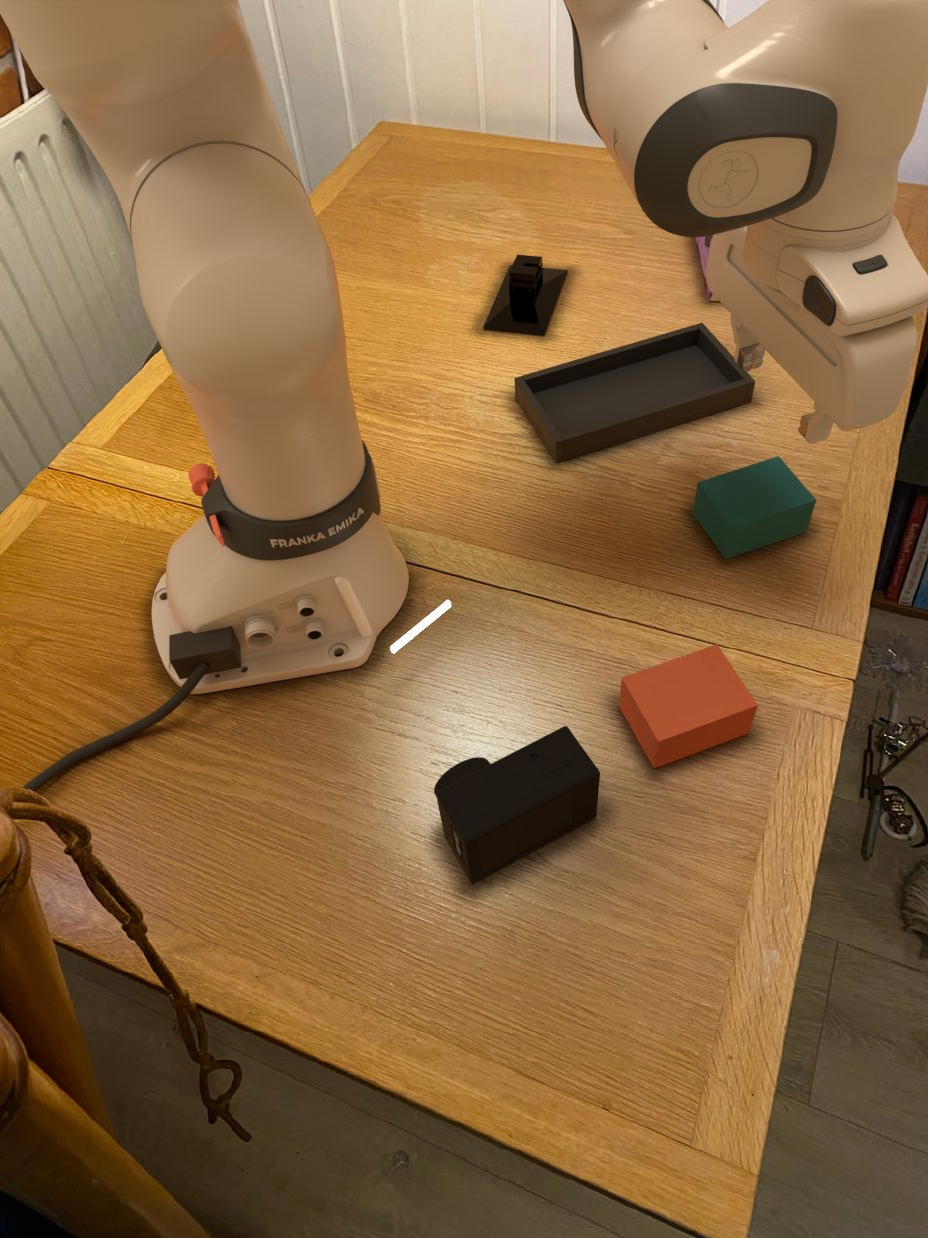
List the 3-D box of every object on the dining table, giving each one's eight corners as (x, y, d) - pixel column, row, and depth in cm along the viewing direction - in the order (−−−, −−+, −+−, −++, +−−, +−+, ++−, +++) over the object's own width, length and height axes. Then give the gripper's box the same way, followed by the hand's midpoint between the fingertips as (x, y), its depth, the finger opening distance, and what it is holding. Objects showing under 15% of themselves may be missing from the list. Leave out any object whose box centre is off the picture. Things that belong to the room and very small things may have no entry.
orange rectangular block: (653, 769, 71) (658, 741, 68) (618, 706, 75) (621, 677, 71) (749, 733, 72) (758, 705, 69) (710, 673, 76) (717, 643, 73)
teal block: (725, 559, 83) (732, 527, 80) (692, 513, 86) (697, 481, 83) (806, 532, 84) (816, 499, 81) (770, 488, 88) (778, 455, 85)
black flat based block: (544, 337, 104) (544, 300, 100) (480, 330, 106) (477, 294, 102) (568, 272, 111) (568, 235, 107) (507, 266, 113) (506, 230, 109)
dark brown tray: (555, 463, 92) (556, 442, 90) (514, 397, 98) (514, 377, 96) (751, 402, 95) (755, 380, 93) (699, 342, 101) (702, 321, 99)
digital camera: (558, 759, 72) (558, 710, 67) (597, 817, 69) (601, 770, 64) (436, 823, 70) (426, 777, 64) (471, 885, 67) (464, 843, 61)
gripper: (695, 177, 69) (679, 337, 80) (861, 331, 57) (815, 495, 68) (773, 155, 70) (746, 316, 81) (952, 302, 58) (892, 468, 69)
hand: (778, 399), depth 75 cm, fingers open, 8 cm apart
